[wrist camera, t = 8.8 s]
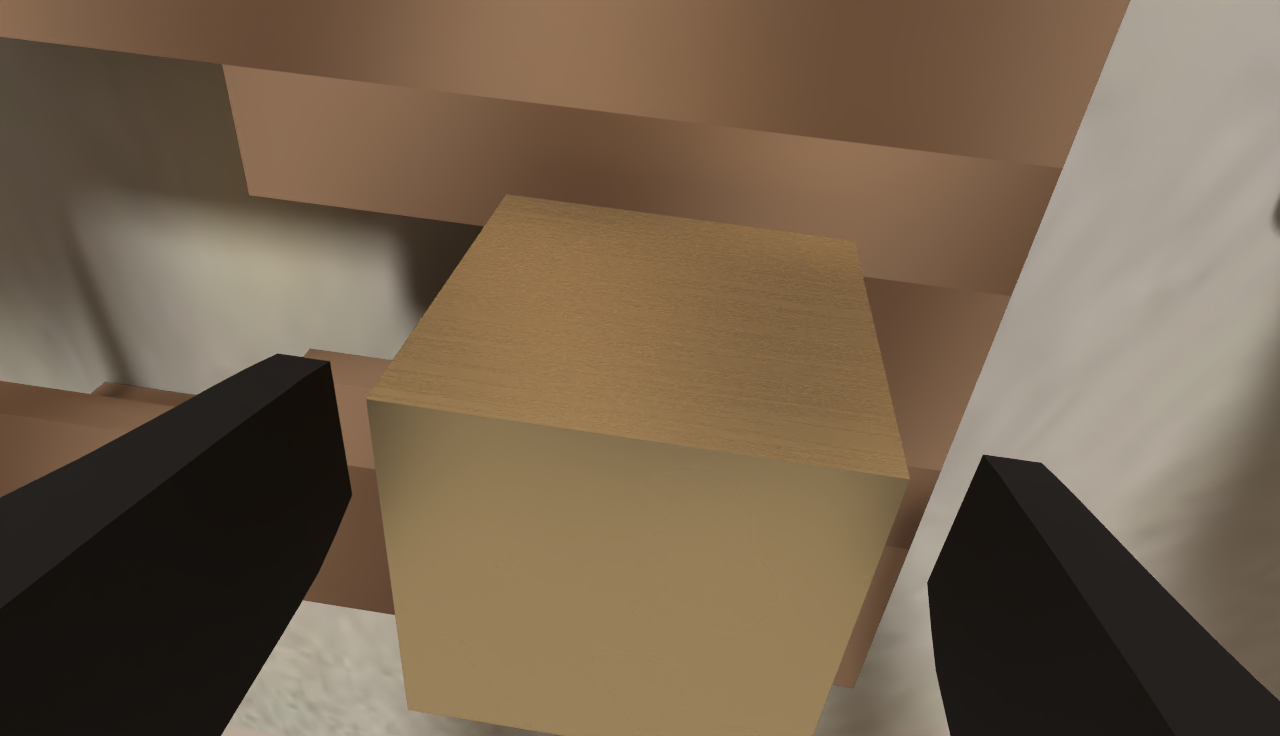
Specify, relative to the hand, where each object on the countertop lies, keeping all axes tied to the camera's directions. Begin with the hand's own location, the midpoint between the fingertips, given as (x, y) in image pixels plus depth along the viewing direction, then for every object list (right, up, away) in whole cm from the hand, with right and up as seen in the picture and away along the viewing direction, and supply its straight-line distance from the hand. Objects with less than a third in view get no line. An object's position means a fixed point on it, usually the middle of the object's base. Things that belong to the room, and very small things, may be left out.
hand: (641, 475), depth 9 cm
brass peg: (+1, +4, +5) cm, 7 cm away
